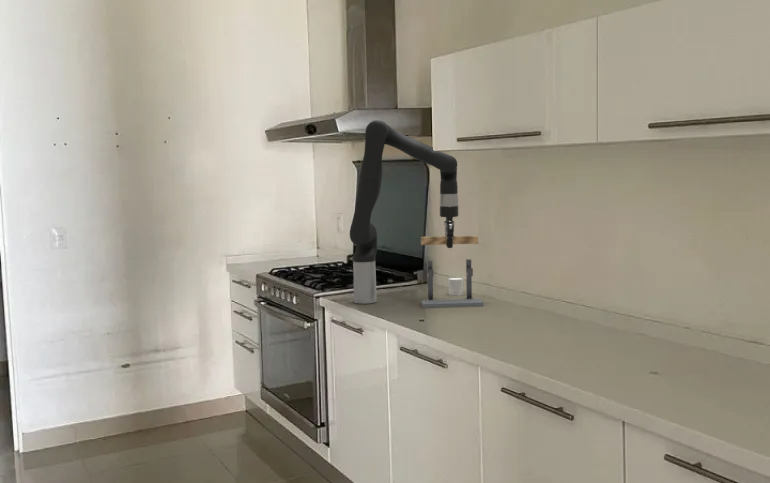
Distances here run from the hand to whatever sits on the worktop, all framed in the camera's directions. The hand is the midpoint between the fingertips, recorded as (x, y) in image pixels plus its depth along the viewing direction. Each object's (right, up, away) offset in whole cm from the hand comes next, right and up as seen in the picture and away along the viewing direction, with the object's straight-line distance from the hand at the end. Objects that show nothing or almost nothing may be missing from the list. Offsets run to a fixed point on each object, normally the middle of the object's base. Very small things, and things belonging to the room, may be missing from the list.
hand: (449, 247), depth 310 cm
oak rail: (0, +1, 0) cm, 1 cm away
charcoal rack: (+1, -22, +3) cm, 23 cm away
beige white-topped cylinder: (+4, -21, +19) cm, 29 cm away
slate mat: (+1, -23, -5) cm, 24 cm away
